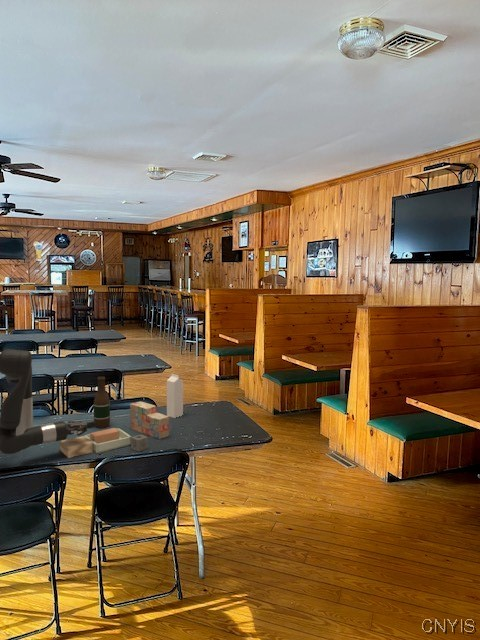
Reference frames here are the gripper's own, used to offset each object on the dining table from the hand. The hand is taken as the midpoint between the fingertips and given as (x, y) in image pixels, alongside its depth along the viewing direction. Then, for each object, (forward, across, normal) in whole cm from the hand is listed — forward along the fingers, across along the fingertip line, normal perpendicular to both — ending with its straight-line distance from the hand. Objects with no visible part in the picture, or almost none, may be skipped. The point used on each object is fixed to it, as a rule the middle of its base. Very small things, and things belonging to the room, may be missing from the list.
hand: (94, 424), depth 195 cm
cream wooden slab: (-8, 0, +10) cm, 13 cm away
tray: (+6, 0, +10) cm, 11 cm away
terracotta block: (-1, 0, +7) cm, 7 cm away
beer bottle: (+13, +24, +10) cm, 29 cm away
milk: (+49, +17, +10) cm, 53 cm away
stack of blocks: (+27, +3, +10) cm, 29 cm away
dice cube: (+14, -13, +10) cm, 22 cm away
